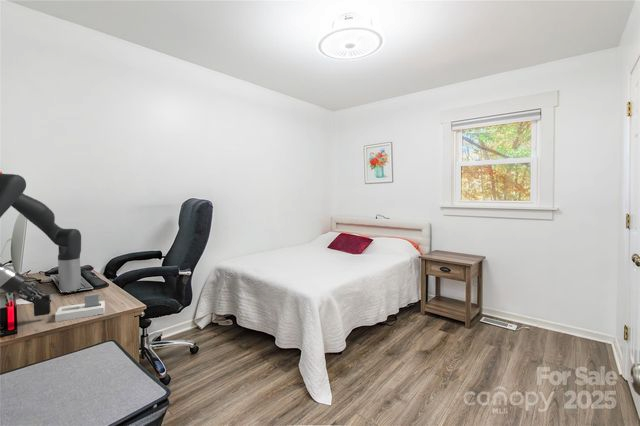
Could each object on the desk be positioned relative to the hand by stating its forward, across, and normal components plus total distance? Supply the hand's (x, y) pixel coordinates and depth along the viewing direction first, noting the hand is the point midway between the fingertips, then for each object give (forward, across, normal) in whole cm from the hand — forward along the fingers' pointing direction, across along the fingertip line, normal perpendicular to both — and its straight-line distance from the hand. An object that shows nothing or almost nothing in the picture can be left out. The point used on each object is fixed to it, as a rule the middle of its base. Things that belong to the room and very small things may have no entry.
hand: (48, 303), depth 134 cm
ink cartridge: (+2, 0, +4) cm, 5 cm away
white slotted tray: (+12, 0, -3) cm, 13 cm away
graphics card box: (+5, +57, +6) cm, 57 cm away
